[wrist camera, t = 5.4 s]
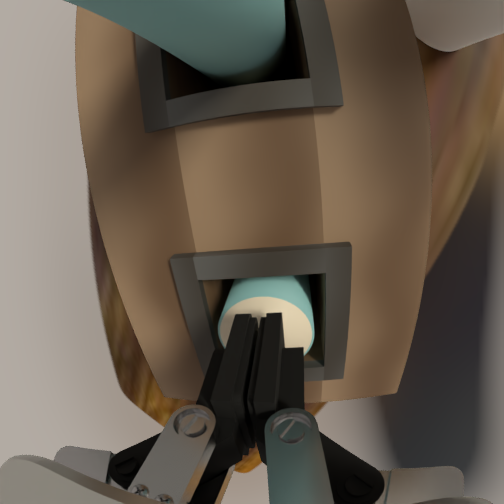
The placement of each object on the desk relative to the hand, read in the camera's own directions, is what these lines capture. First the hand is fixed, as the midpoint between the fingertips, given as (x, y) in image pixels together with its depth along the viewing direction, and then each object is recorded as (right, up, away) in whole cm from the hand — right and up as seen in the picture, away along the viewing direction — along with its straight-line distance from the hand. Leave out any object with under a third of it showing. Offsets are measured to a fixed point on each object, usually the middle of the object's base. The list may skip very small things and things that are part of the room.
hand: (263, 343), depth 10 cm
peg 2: (+2, +5, +12) cm, 13 cm away
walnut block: (+1, +11, +11) cm, 15 cm away
